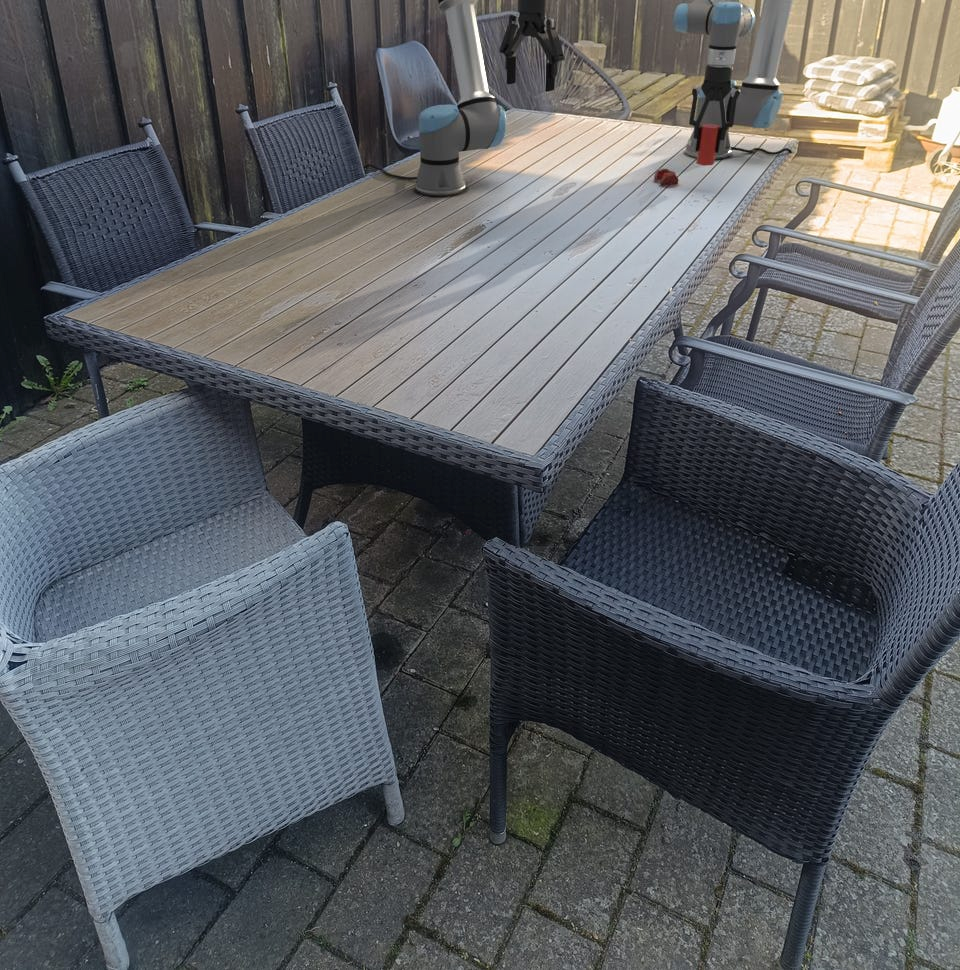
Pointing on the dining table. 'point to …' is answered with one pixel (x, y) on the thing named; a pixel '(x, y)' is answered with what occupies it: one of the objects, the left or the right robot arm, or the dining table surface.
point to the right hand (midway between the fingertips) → (706, 150)
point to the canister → (707, 144)
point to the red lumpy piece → (666, 177)
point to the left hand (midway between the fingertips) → (530, 87)
